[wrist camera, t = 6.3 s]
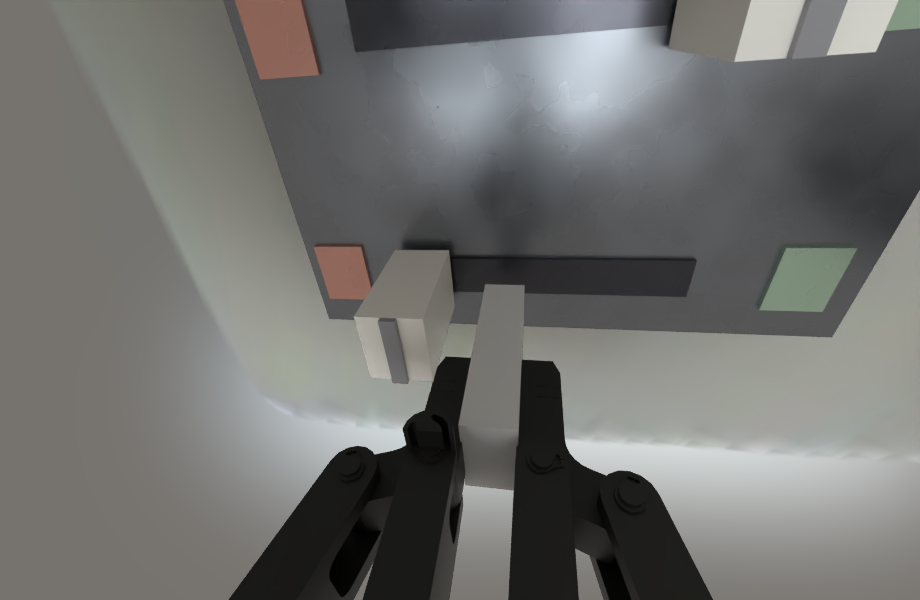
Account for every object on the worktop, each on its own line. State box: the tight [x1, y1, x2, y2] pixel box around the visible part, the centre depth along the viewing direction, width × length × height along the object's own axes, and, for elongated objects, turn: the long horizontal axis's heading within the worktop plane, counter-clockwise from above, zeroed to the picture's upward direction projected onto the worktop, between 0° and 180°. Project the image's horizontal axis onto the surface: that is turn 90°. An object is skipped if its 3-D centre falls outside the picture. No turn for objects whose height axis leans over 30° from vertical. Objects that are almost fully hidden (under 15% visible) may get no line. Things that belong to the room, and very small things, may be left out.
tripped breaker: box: [354, 250, 455, 384], centre depth 16 cm, size 3×2×5 cm
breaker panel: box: [224, 0, 920, 337], centre depth 16 cm, size 16×24×2 cm, turn 94°
